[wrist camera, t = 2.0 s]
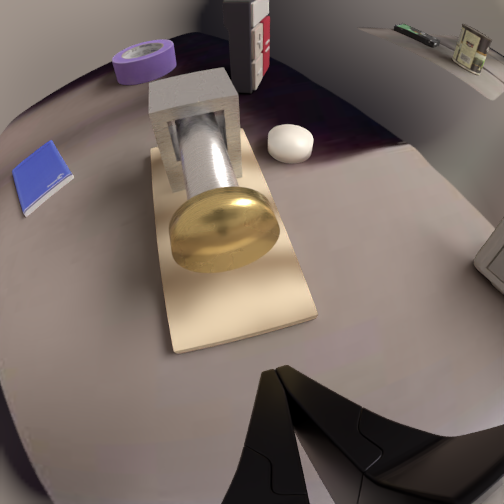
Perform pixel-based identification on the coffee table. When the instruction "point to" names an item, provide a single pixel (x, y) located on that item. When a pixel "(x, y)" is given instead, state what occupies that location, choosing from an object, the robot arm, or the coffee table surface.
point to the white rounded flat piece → (290, 144)
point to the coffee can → (471, 49)
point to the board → (228, 277)
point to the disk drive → (417, 35)
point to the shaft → (216, 205)
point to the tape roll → (144, 62)
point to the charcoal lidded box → (247, 41)
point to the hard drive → (40, 177)
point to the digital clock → (493, 258)
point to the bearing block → (189, 104)
